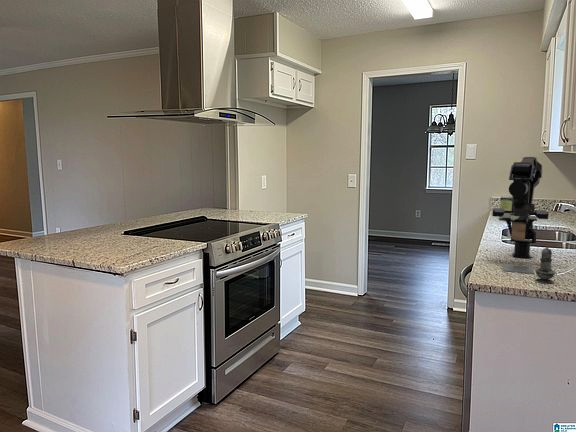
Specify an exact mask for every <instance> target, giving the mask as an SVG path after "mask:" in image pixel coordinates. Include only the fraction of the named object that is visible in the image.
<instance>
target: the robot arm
mask: <svg viewBox="0 0 576 432" xmlns="http://www.w3.org/2000/svg"><path fill="white" fill-rule="evenodd" d="M542 178H543V165H542V164H541V163H540V162H539V161H538V158H537V157H536V156H524V157H522V160H521V161H514V162H513V164H512V165H510V172H509V177H508V180H509V181H512V182H511V183H510V184H509V186H508V192H509V195H511V197H512V208H511V211H506V210H504V208H500V207H497V208H496V207H494V208H493V209H492V217H498V218H499V217H502V219H505V220H506V221H505V222H506V224H507V228H508V232H509V236H511V234H512V228H511V227H512V222H511V217H510V215H513V216H519V217H518V218H517V219H515V220H514V222H521V223H525V224H526V229H525V240H519V239H511V238H510V242H514V248H513V249H514V250H513V252H512V254H511V255H512V257H513V258H524V259H531V258H532V256H531V254H530V253H531V244H537V232H536V229H535V228H534V224H533V223H534V222H538V220H548V219H549V212H548V211H547V210H543V209H541V210H540V209H535V208H536V207H535V206H536V205H535V203H534V201H533V200H534V194H535V188H536V187H537V186H538V185H539V184H540V181H541V179H542Z"/></svg>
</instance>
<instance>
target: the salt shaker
mask: <svg viewBox="0 0 576 432" xmlns="http://www.w3.org/2000/svg"><path fill="white" fill-rule="evenodd" d="M552 253H553V251H552V250H551V249H549V245H547V246H545V248H543V249H542V250H541V258H539V260H540V264H539V265H540V266H539V267H538V268H536V269H534V272H535V275H536V276H537V277H538V278H536V279H535V282H537V283H540V284H546V285H547V284H548V285H551V284H554V283H555V281H553V280H551V279H553V278H554V276H555V274H556V271H555V270H553V268H552V262H553V259H552V255H553V254H552Z"/></svg>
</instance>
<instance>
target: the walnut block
mask: <svg viewBox="0 0 576 432" xmlns="http://www.w3.org/2000/svg"><path fill="white" fill-rule="evenodd" d="M511 228H512V234H511V235H510V240H511V239H519V240H526V239H525V229H526V224H525V223H521V222H511Z"/></svg>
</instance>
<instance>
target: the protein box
mask: <svg viewBox="0 0 576 432" xmlns="http://www.w3.org/2000/svg"><path fill="white" fill-rule="evenodd" d="M499 201H500V202H499V204H500V205H499V208H504V210H506V211H511V208H512V196H503V197H502V196H500V200H499ZM510 217H511V223H512V222H514V220H515V219H517V218H518V217H519V216H513V215H510ZM498 220H499V221H503V222H506V220H505V219H502V217H498Z"/></svg>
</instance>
